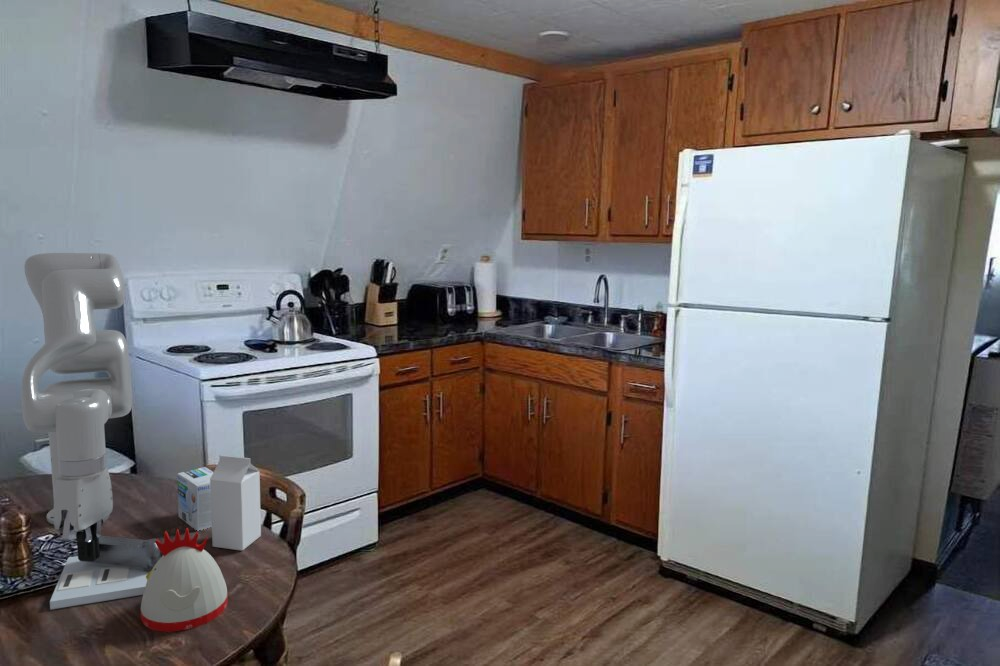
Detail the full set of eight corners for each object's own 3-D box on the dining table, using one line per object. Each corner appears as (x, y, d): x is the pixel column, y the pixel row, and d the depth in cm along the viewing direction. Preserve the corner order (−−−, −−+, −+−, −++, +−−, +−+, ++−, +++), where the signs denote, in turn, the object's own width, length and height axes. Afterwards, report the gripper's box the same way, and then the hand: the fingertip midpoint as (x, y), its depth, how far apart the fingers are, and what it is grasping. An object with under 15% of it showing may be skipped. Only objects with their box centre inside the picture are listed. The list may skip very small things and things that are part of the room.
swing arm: (91, 557, 133) (89, 532, 132) (164, 564, 131) (163, 539, 130) (80, 564, 130) (78, 539, 129) (154, 572, 128) (153, 546, 127)
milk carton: (242, 551, 141) (240, 464, 138) (212, 547, 142) (209, 460, 139) (261, 536, 148) (259, 453, 145) (232, 532, 149) (229, 450, 146)
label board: (68, 564, 133) (68, 556, 133) (153, 552, 139) (153, 544, 139) (50, 609, 118) (49, 600, 118) (146, 593, 124) (146, 584, 123)
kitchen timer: (146, 595, 123) (142, 517, 121) (227, 583, 128) (225, 508, 126) (136, 638, 111) (131, 552, 108) (226, 623, 116) (224, 541, 113)
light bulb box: (177, 517, 156) (175, 472, 154) (206, 509, 161) (205, 465, 159) (197, 532, 149) (195, 485, 147) (227, 523, 154) (225, 478, 152)
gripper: (92, 451, 132) (98, 540, 135) (31, 477, 118) (39, 576, 120) (128, 453, 132) (133, 543, 134) (71, 480, 117) (78, 580, 119)
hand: (89, 558), depth 127 cm, fingers closed
